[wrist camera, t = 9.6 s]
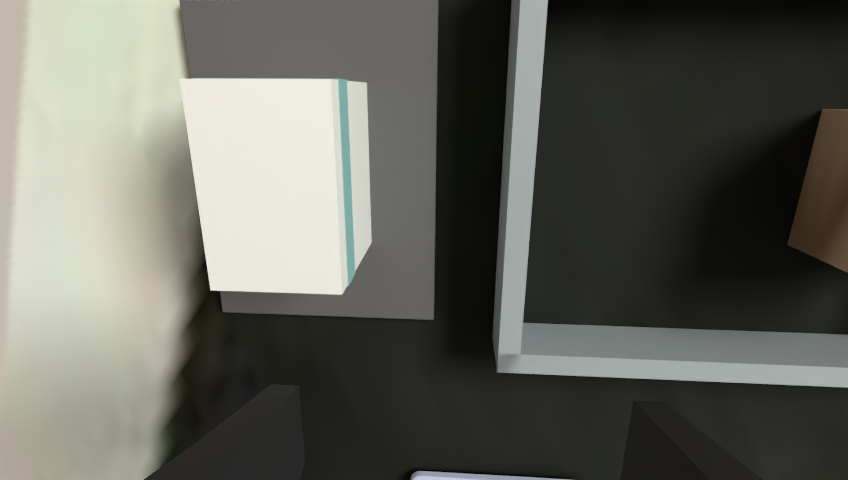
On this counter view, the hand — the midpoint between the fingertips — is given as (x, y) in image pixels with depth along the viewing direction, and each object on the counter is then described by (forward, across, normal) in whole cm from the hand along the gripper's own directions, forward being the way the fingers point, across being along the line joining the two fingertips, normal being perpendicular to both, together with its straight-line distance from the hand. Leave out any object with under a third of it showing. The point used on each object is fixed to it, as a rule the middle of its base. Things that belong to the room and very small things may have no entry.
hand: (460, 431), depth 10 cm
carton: (+9, +6, -4) cm, 11 cm away
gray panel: (+9, +6, -4) cm, 12 cm away
